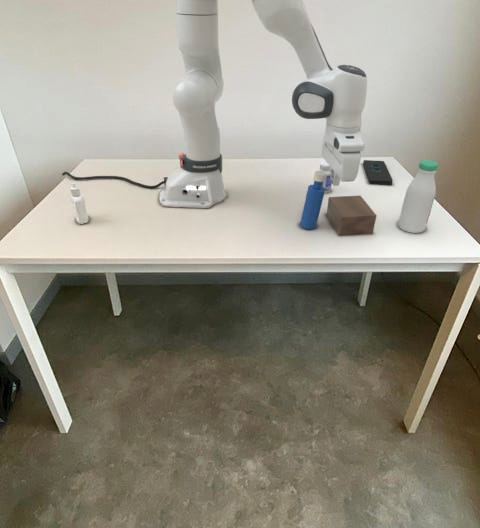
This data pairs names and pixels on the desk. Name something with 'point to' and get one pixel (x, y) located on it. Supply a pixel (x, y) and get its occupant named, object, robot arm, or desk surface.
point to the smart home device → (377, 172)
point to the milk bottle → (419, 198)
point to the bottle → (313, 202)
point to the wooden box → (350, 215)
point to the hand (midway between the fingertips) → (334, 183)
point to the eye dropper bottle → (78, 205)
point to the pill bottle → (326, 176)
